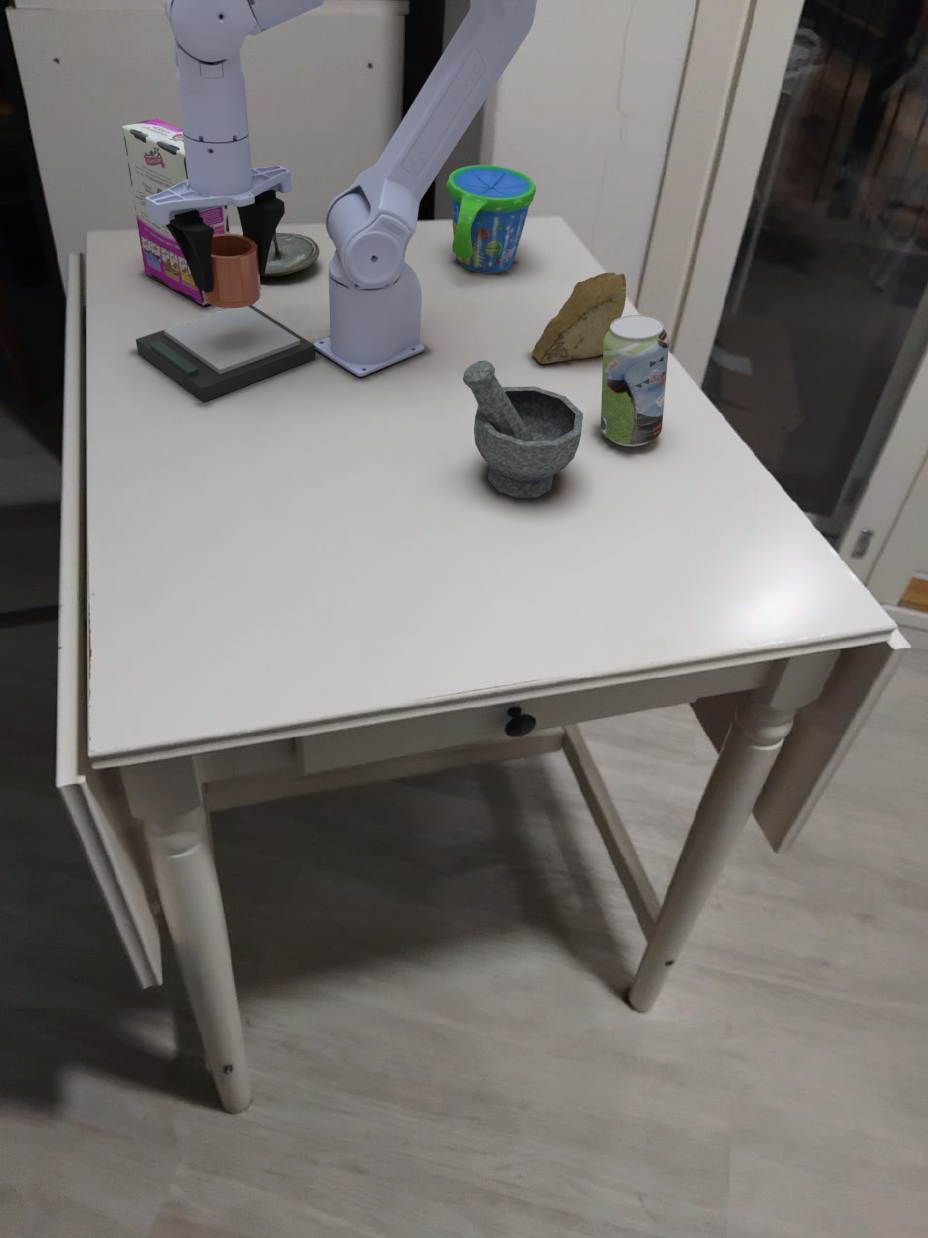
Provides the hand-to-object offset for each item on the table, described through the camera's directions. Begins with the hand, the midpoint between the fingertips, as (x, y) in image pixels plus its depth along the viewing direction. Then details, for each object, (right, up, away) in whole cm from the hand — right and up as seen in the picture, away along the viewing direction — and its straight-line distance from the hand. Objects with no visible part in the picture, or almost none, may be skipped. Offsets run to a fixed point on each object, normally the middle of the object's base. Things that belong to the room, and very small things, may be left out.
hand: (230, 279), depth 93 cm
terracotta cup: (0, -1, +1) cm, 2 cm away
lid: (0, +10, +23) cm, 25 cm away
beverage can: (+39, -15, +2) cm, 42 cm away
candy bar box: (-9, +6, +18) cm, 21 cm away
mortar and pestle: (+28, -20, -5) cm, 35 cm away
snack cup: (+26, +12, +28) cm, 40 cm away
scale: (-2, -6, +7) cm, 9 cm away
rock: (+35, -3, +13) cm, 38 cm away
